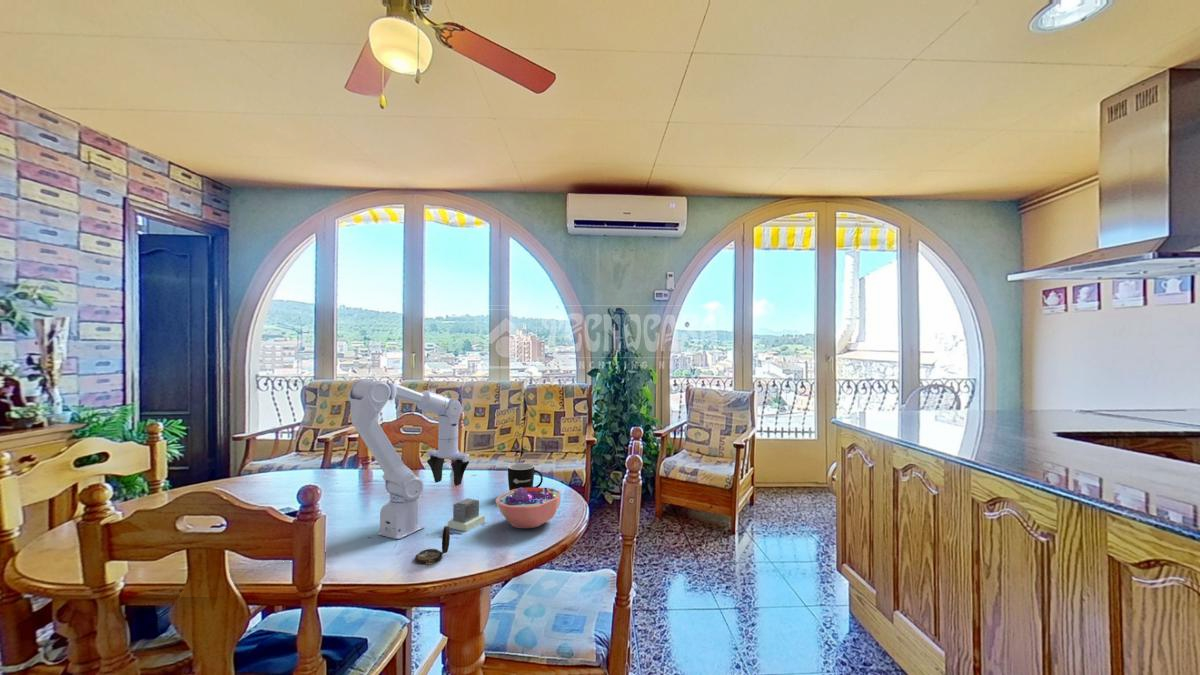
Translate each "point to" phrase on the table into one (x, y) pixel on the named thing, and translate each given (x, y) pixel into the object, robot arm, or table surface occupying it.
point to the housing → (465, 510)
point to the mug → (522, 476)
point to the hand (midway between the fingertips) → (447, 483)
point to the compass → (434, 550)
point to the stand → (466, 525)
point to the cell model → (529, 506)
